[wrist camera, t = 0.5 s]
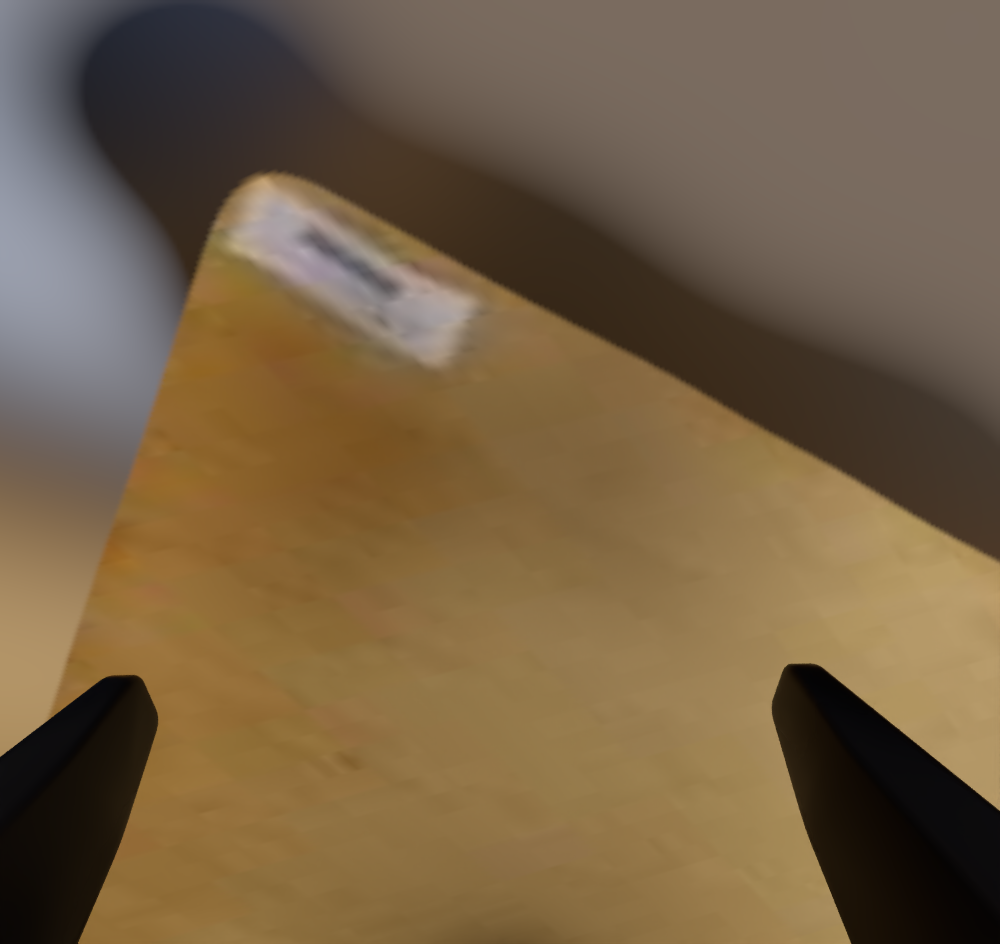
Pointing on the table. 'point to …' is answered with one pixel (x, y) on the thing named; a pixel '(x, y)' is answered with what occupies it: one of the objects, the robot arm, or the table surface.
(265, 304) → the table surface
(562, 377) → the table surface
